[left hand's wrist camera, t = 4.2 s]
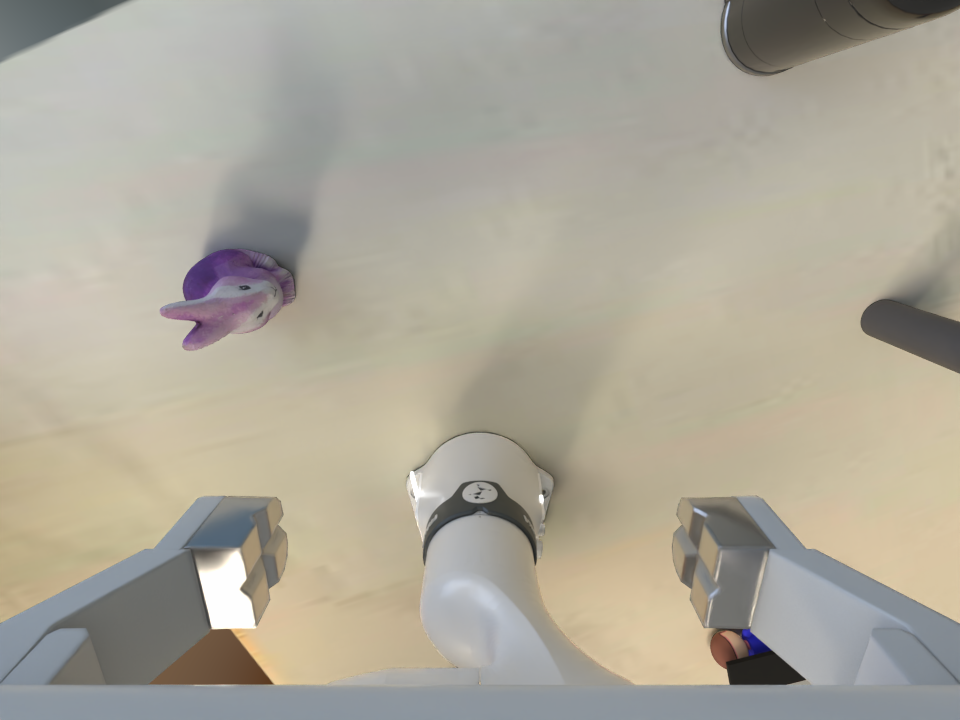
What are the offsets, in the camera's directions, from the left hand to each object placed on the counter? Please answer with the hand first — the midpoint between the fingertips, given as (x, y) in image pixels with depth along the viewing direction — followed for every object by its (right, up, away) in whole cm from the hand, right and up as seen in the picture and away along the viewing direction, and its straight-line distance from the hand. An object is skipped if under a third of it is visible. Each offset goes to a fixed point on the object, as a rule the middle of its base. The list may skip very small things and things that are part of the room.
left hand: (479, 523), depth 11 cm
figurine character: (+40, -35, +64) cm, 84 cm away
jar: (+46, +8, +48) cm, 67 cm away
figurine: (-25, +12, +47) cm, 54 cm away
